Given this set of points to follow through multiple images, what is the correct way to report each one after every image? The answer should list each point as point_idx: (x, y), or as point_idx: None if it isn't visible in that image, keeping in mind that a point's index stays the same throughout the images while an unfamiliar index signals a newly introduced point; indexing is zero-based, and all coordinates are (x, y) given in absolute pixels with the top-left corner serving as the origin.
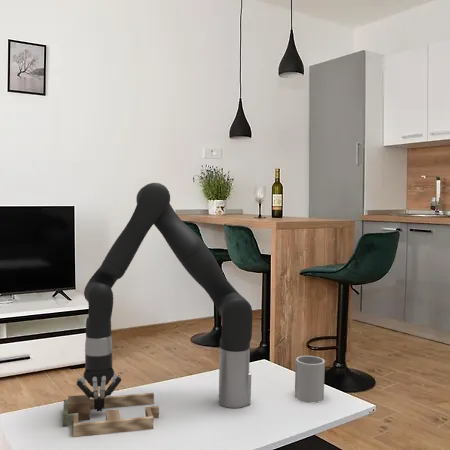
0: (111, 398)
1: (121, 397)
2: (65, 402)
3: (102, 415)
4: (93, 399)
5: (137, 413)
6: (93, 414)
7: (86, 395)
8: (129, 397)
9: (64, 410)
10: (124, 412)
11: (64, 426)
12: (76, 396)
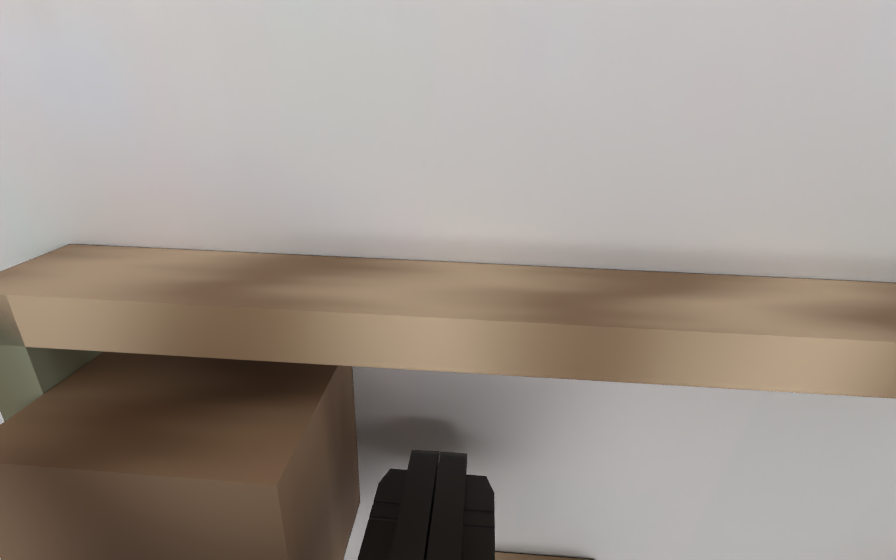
0: (622, 375)
1: (775, 386)
2: (4, 373)
3: (472, 455)
4: (364, 362)
5: (804, 501)
6: (390, 416)
7: (230, 503)
8: (893, 385)
9: None
10: (692, 452)
11: None
12: (83, 498)
